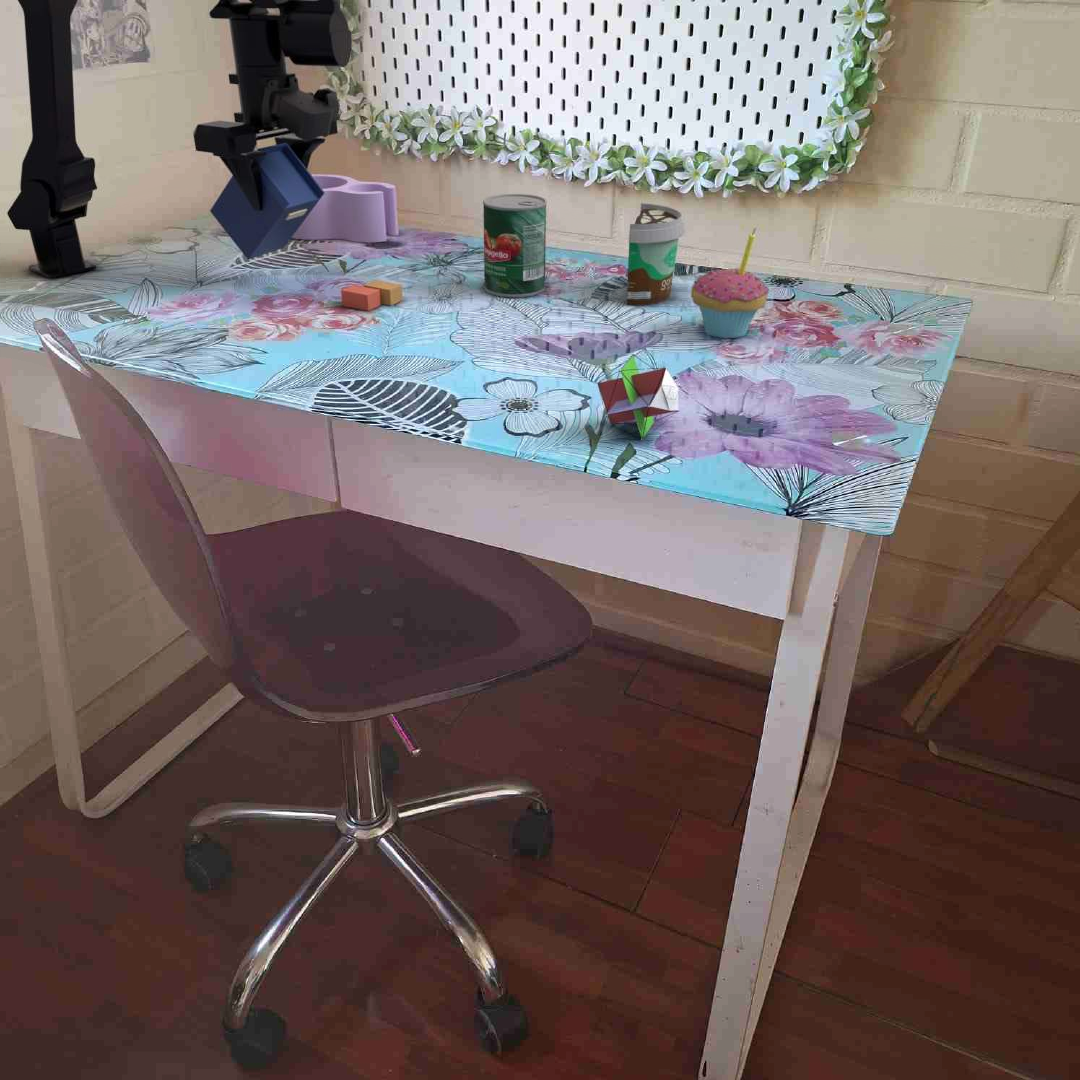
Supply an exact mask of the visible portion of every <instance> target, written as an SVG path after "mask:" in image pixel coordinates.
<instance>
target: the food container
mask: <svg viewBox="0 0 1080 1080" xmlns="http://www.w3.org/2000/svg"><path fill="white" fill-rule="evenodd" d="M685 233H686V231H685V221H684V218H683V217H682V213H681V212H680V211H679V210H677V209H675V208H674V207H669V206H665V205H661V204H653V203H645V202H642V203H641V202H640V213H639V215H638V216H637V217H636V219H635V222H634V223H630V224H629V233H628V260H627V262H628V263H627V281H626V282H627V283H626V284H627V285H626V303H625V304H626V306H644V305H645V306H647V305H653V304H659V303H662V302H666V301H667V300H668V299H670V297H671V292H672V286H673V278H674V273H675V266H676V265H675V264H676V260H677V259H676V258H677V254H678V253H677V251H678V245H679V240H680V239H679V238H682V237H683V236H684V235H685Z"/></svg>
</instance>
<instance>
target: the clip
mask: <svg viewBox="0 0 1080 1080" xmlns="http://www.w3.org/2000/svg"><path fill="white" fill-rule="evenodd" d="M311 175H312V177H313V178H314V179H315V180H316V182H317V183H318V184H319V186H320V187H321V188H322V190H323V191H324V192H325V193H324V195H323V196H322V197H321V199H320V200H319V201H318V203H317V204H316V205H315V207H314V208H313V209H312V211H311V212H310V213H309V215H308V216H307V217H306V219H305V220H304V221H303V223H302V224H301V225H300V227H299V228H298V229H297V231H296V232H295V233H294V235H293V236H292V237H291V239H296V240H307V241H318V240H320V241H321V240H346V241H350V242H354V243H355V242H356V243H381V242H382V243H383V242H387V234H388V236H395V237H396V236H399V223H398V221H399V220H398V206H397V205H398V204H397V189H396V188H397V187H396V186H395V185H394V184H392V183H386V182H378V181H376V182H375V181H362V180H361V181H360V180H357V179H356V178H353V177H350V176H346V175H339V174H322V173H321V174H320V173H319V174H315V173H314V174H311Z"/></svg>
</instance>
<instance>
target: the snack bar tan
mask: <svg viewBox="0 0 1080 1080" xmlns="http://www.w3.org/2000/svg"><path fill="white" fill-rule="evenodd" d="M363 287H367V288H373V289H378V290H380V303H381V305H384V306H389V307H392V306H394V305H396V304H398V303H400V302H403V298H404V297H403V286H402V284H400V283H394V282H389V281H383V280H378V279H374V280H372V281H370V282H368V283H365V284H363Z"/></svg>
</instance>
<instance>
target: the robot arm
mask: <svg viewBox="0 0 1080 1080" xmlns="http://www.w3.org/2000/svg"><path fill="white" fill-rule="evenodd" d="M17 1H18V4H19V5H20V8H21V9H22V12H23V13H22V14H23V17H24V18H23V19H24V33H25V35H24V36H25V48H26V49H25V50H26V62H27V63H26V65H27V78H28V92H29V107H30V122H31V133H32V134H31V141H30V144H29V146H28V148H27V151H26V153H25V155H24V157H23V160H22V163H21V172H20V182H19V185H20V186H19V189H20V192H19V193H18V195H17V196H16V198H15V199H14V201H13V203H11V206H10V207H9V209H8V210H7V213H6V214H7V217H8V219H9V220H10V222H11V224H12V225H13V227H14V229H15V230H24V231H29V235H30V239H31V241H32V246H33V250H34V254H35V255H34V256H35V258H36V261H37V262H36V263H34V264H29V265H28V266H27V268H28V270H29V271H31V272H33V273H37V274H39V275H41V276H44V277H46V278H48V279H55V278H56V279H57V278H60V277H64V276H70V275H74V274H79V273H83V272H88V271H92V270H96V269H97V268H98V267H97V264H95V263H92V262H90V261H88V260H85V257H84V253H83V249H82V248H83V247H82V243H81V240H80V236H79V231H78V227H77V222H76V220H78V219H81V218H85V217H87V215H88V205H89V202H90V201H92V198H93V193H94V191H96V190H98V185H97V183H96V178H95V171H96V170H95V169H96V160H95V158H94V157H89V156H88V157H87V156H84V153H83V152H82V150H81V148H80V147H79V144H78V143H77V138H76V137H77V136H76V135H77V134H76V115H75V113H76V112H75V95H74V94H75V93H74V74H73V73H74V70H73V69H74V68H73V50H72V31H71V30H72V29H71V19H72V15H73V12H74V10H75V8H76V5H77V3H78V0H17ZM268 9H269V10H271V9H273V10H274V9H278V10H279V13H278V12H276V13H275V12H269V10H268ZM209 17H210V18H211V19H217V20H218V19H220V20H228V21H229V22H228V23H229V29H230V30H229V31H230V37H231V45H232V53H233V60H234V68H235V72H234V73H233V72H232V73H228V74H227V75H228V83H229V84H230V85H237V91H238V97H239V98H238V99H239V105H240V111H237V112H236V111H235V112H233V118H234V119H233V120H234V121H226V120H215V121H209V122H204V123H199V124H197V125H196V127H195V129H194V130H193V133H192V134H193V141H194V146H195V152H202V153H208V154H209V153H210V154H212V156H214V157H219V159H220V160H221V161H222V162H223V164H224V165H225V167H226V168H227V169H228V171H229V173H231V175H232V176H234V178H235V179H236V181H237V183H238V184H239V186H240V187H241V189H242V191H243V192H244V194H245V196H246V197H247V199H248V201H249V202H250V204H251V205H252V207H253V209H254V210H257V211H262V210H263V195H262V183H261V172H260V165H261V163H262V161H263V159H264V157H265V156H266V154H267V152H261V151H258V149H259V148H258V141H261V140H267V139H271V138H274V141H275V145H278V144H283V143H287V144H288V145H289V147H290V148H291V149H292V151H293V152H294V153H295V155H296V156H297V157H298V158H299V160H300V161H301V162H302V164H303V165H304V166H305V168H306V169H307V170H308V168H309V164H310V162H311V158H312V155H313V153H315V151H316V150H317V149H318V148H319V146H321V145H322V144H324V143H326V137H329V136H331V135H336V134H338V121H339V120H340V117H341V116H340V114H339V112H340V104H339V98H338V93H337V92H336V91H335V90H333V89H332V88H329V87H325V88H318V89H317V90H316V91H315V93H313V92H304V91H303V90H301V89H300V87H299V79H298V77H297V76H296V73H294V72H293V73H292V72H288V67H287V66H288V65H287V58H289V59H290V61H291V63H293V65H295V66H303V67H304V66H305V67H306V66H307V67H327V68H328V67H329V68H345V67H346V66H348V64H349V62H350V59H351V55H352V46H353V44H352V43H353V42H352V41H353V39H352V31H351V29H350V28H349V24H348V20H347V18H346V16H345V13H344V11H342V7H341V0H248V2H247V1H246V2H245V1H239V0H218V2H217V3H216V4H215V6H213V8H212V9H211V10H210V11H209Z"/></svg>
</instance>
